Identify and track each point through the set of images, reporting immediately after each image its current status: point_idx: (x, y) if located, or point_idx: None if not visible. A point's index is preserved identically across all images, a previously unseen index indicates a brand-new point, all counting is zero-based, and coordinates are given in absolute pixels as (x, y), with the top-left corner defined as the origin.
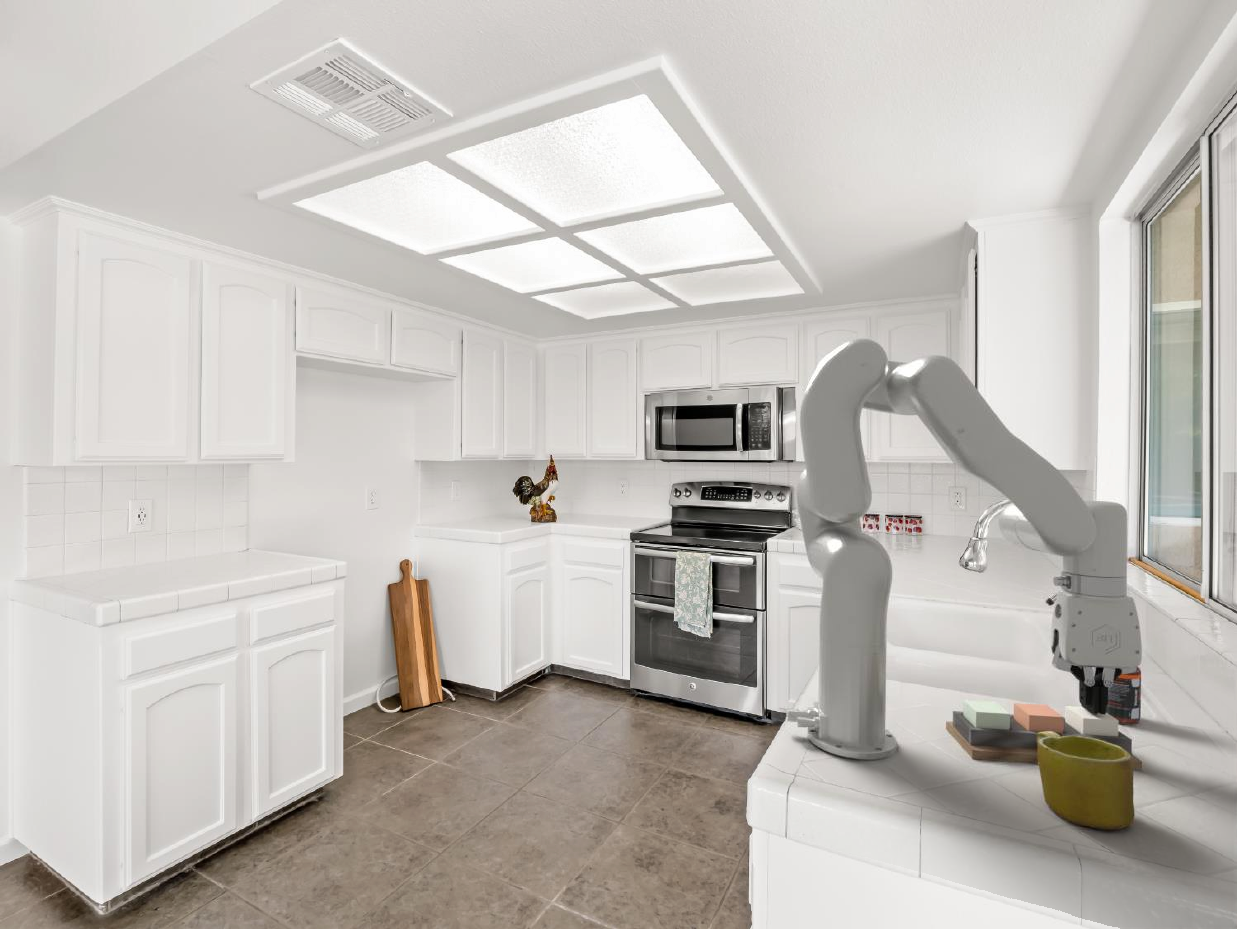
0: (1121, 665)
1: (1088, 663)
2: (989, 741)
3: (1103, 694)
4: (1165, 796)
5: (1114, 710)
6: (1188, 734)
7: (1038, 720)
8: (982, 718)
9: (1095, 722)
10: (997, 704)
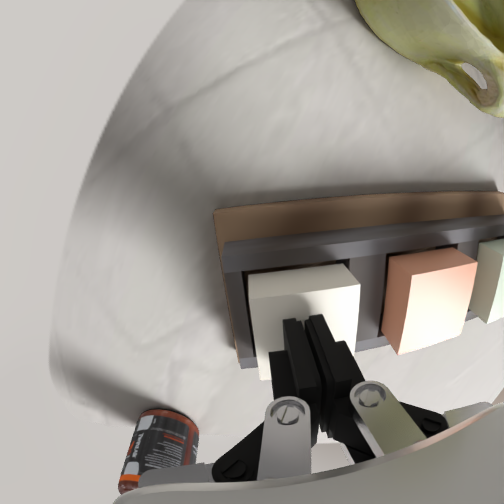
0: (251, 497)
1: (475, 433)
2: (493, 218)
3: (305, 364)
4: (230, 84)
5: (176, 429)
6: (85, 385)
7: (454, 261)
8: None
9: (321, 283)
10: (492, 309)
